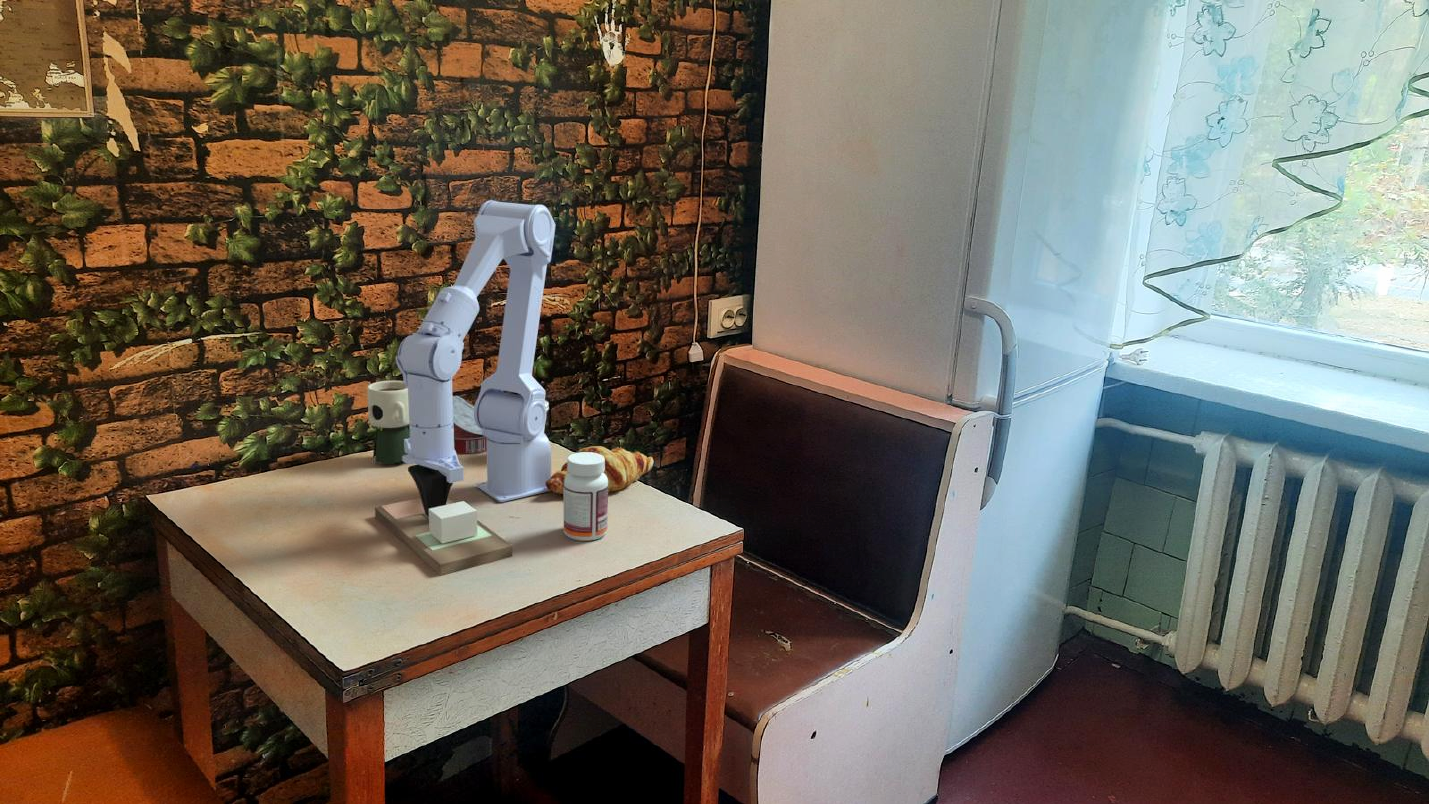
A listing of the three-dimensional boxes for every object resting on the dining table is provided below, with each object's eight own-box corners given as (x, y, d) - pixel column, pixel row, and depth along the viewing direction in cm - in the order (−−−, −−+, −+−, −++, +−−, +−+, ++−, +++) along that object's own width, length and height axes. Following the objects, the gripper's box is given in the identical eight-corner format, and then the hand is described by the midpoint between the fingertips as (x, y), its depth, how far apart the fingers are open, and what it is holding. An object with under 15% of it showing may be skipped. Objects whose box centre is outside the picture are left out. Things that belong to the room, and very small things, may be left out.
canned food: (471, 460, 173) (491, 409, 174) (498, 471, 166) (518, 417, 167) (417, 441, 166) (438, 388, 167) (442, 451, 158) (464, 396, 159)
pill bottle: (598, 522, 138) (600, 448, 135) (613, 538, 132) (615, 462, 129) (557, 527, 135) (558, 453, 132) (571, 545, 130) (571, 467, 127)
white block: (464, 524, 130) (463, 501, 129) (477, 534, 127) (476, 510, 126) (429, 533, 127) (428, 508, 126) (442, 543, 124) (441, 518, 123)
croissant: (639, 485, 162) (626, 440, 163) (676, 473, 155) (663, 426, 156) (537, 513, 147) (523, 464, 148) (573, 502, 140) (559, 450, 141)
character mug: (361, 454, 159) (356, 380, 156) (403, 448, 164) (399, 375, 160) (383, 474, 151) (379, 396, 148) (426, 467, 155) (423, 391, 152)
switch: (441, 502, 142) (441, 492, 141) (512, 556, 125) (512, 545, 125) (375, 517, 135) (374, 506, 135) (440, 575, 119) (440, 563, 119)
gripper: (381, 412, 130) (386, 504, 134) (425, 441, 120) (429, 540, 124) (429, 405, 135) (433, 493, 138) (477, 432, 124) (479, 527, 128)
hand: (434, 515), depth 131 cm, fingers closed
